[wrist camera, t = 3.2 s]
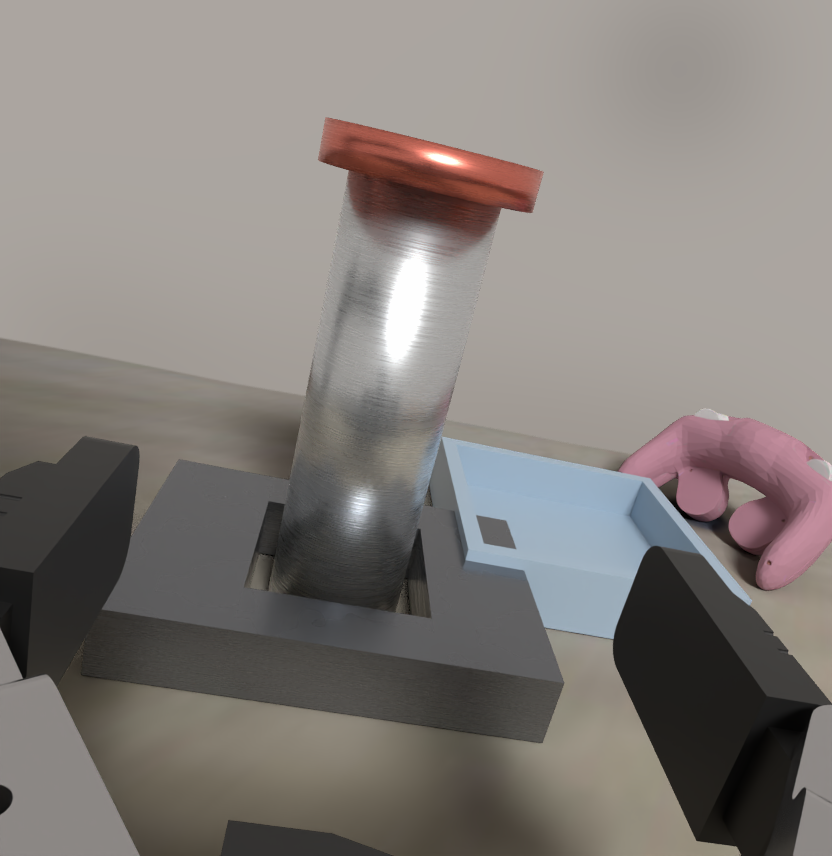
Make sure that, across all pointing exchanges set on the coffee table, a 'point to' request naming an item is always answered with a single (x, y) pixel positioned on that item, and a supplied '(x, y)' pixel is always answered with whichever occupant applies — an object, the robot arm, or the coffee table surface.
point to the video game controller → (755, 466)
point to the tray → (563, 528)
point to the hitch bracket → (322, 619)
